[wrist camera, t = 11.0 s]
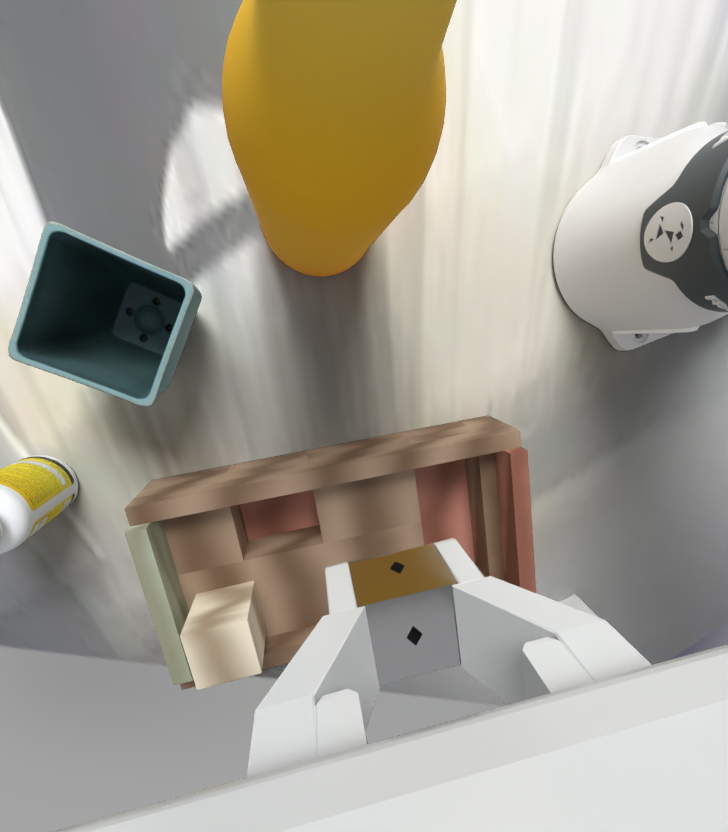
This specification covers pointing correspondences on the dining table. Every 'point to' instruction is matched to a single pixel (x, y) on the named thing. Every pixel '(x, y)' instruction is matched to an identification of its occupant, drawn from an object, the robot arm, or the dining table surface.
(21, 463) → the supplement bottle
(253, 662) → the ash block
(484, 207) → the dining table surface
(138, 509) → the tray
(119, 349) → the flower pot
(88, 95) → the dining table surface
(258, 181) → the beer bottle
